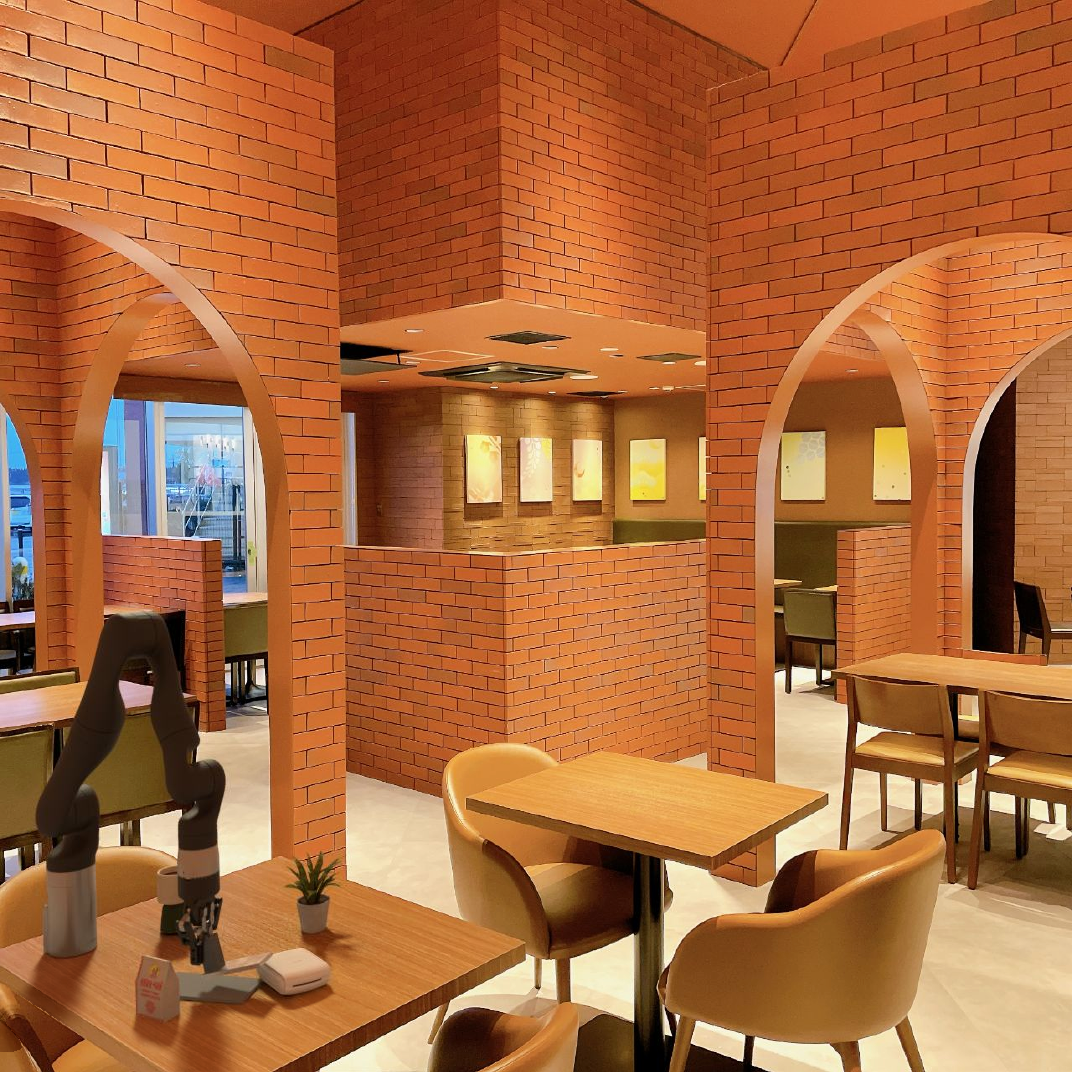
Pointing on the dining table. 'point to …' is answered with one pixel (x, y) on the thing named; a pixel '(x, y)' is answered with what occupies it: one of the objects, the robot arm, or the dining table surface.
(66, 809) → the robot arm
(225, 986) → the mat
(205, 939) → the grey l-shaped piece
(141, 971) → the tea bag
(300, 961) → the photo printer
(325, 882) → the house plant
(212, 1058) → the dining table surface
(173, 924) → the character mug
